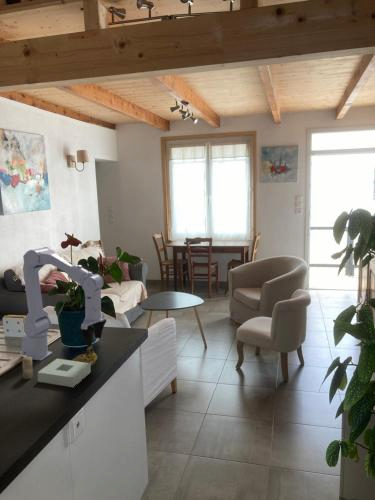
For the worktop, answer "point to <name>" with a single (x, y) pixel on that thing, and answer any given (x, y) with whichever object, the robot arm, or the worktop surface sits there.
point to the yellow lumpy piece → (87, 357)
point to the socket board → (64, 372)
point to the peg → (27, 368)
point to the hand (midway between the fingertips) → (93, 341)
